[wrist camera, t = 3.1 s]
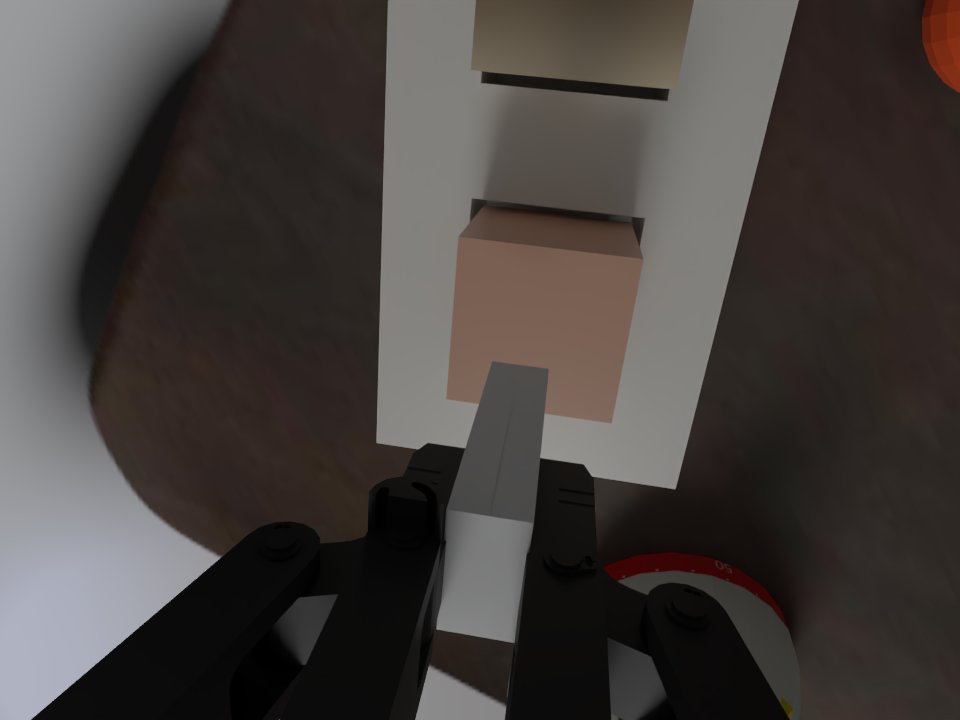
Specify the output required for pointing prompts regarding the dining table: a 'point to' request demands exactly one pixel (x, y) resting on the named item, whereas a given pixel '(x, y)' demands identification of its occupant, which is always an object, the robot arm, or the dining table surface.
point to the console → (571, 212)
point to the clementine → (943, 39)
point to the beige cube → (583, 39)
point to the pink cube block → (545, 305)
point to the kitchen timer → (742, 603)
